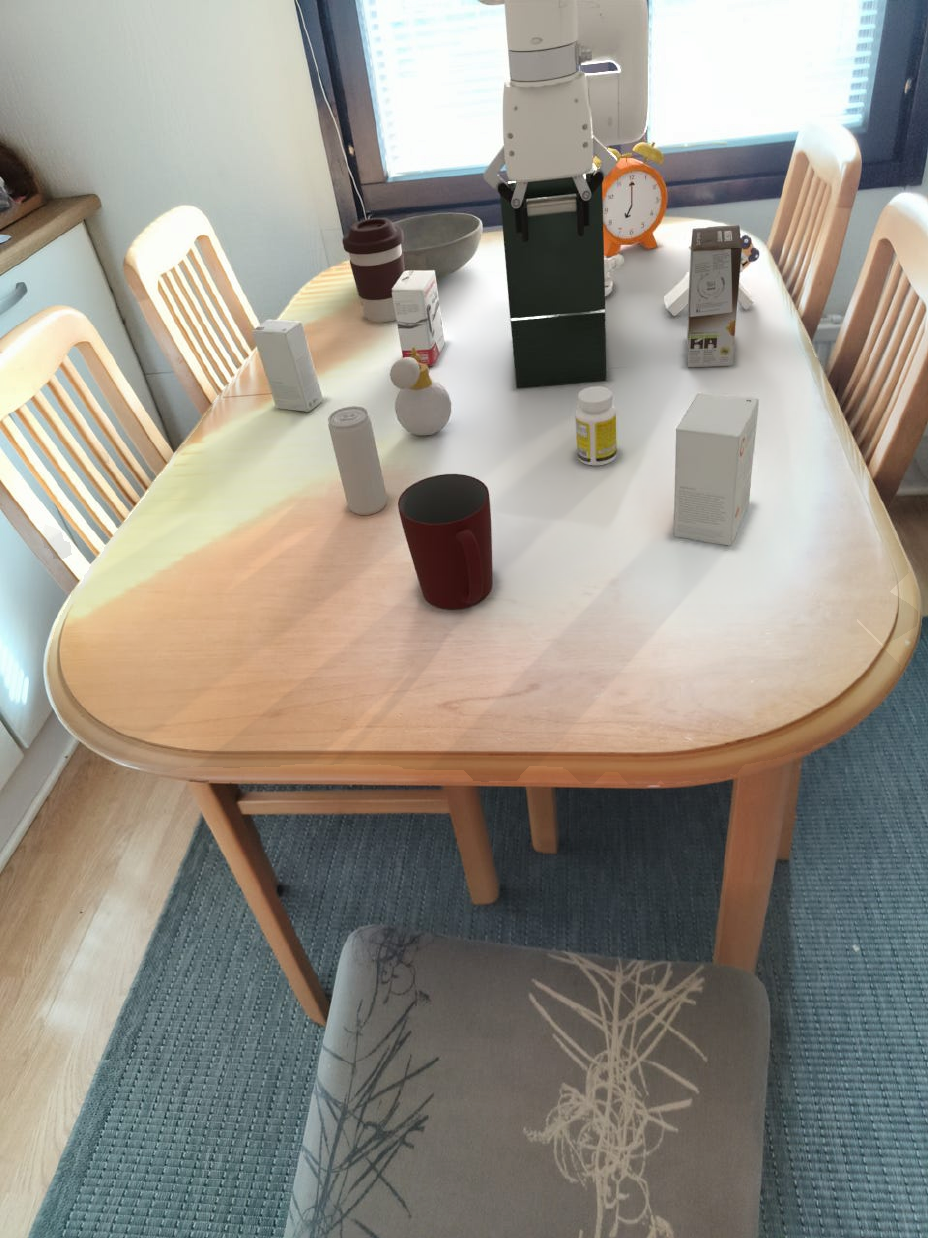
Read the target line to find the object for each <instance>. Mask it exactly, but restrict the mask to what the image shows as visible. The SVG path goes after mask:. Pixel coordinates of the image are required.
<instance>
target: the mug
mask: <svg viewBox="0 0 928 1238" xmlns="http://www.w3.org/2000/svg"><path fill="white" fill-rule="evenodd" d="M397 507H398V513H399V518H400V521H401V526H402V529H403V533H404V536H405V540H406V543H407V547H408V550H409V553H410V558H411V561H412V564H413V567H414V570H415V573H416V576H417V579H418V583H419V586H420V590H421V593H422V595H423V598H424V599H425V601H426V602H427V603H428V604H430V605H432V606H433V607H435V608H439V609H444V610H461V609H467V608H470V607H472V606H475V605H477V604H479V603H480V602H482V601H483V600H484V599H486V598H487V597H488V596H489V594H490V593H491V592H492V589H493V582H494V581H493V537H492V534H493V533H492V532H493V531H492V530H493V529H492V509H491V499H490V492H489V488H488V486H487V485H486V484H485V482H483V481H482V480H481V479H478V478H476V477H474V476H472V475H469V474H467V475H466V474H462V473H443V474H437V475H432V476H428V477H425V478H423V479H420V480H418V481H416V482H414V483H413V484H411V485H410V486H408V487H407V488H405V490H404V491H403V492H402V493H401V495H400V496H399V498H398V502H397Z"/></svg>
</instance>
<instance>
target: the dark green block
mask: <svg viewBox="0 0 928 1238" xmlns="http://www.w3.org/2000/svg"><path fill="white" fill-rule="evenodd" d="M591 174H592V173H586V174H585V176H586V178H587V179H588V178H589V177H590V176H591ZM507 182H508V183H509V184H510V185H511V186H512V187H513V188H514V186H515V183H516V182H514V181H507ZM576 196H578V189H577V187H576V184H575V182H574V180H573V178H572V177H567V178H558V179H550V180H541V181H531V182H528V184H527V187H526V190H525V194H524V200H525V202H526V205H527V217H528V231H529V241H527V242H523V239H522V233H518V234H517V233H516V221H515V208H514V207H513V206H512V204H511V203H510V202H508V201H507V200H506V199H505V198H504V197H503V196H502V195H500V194H499V198H500V212H501V224H502V225H501V226H502V237H503V248H504V259H505V262H504V263H505V271H506V284H507V285H506V286H507V298H508V309H509V319H511V318H522V317H532V316H543V315H554V314H564V313H575V312H585V311H596V310H605V311H606V297H605V273H604V232H603V190H602V183H601V184H600V186H599V187H598V188H597V189H596V190H595V192H594V193H593V194H592V195H591V198H590V199H589V226H584V236H580V235H578V229H577V201H576Z"/></svg>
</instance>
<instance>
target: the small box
mask: <svg viewBox="0 0 928 1238" xmlns="http://www.w3.org/2000/svg"><path fill="white" fill-rule="evenodd" d="M759 405H760V399H759V398H756V397H750V396H742V395H731V394H723V393H712V392H711V393H710V392H700V391H699V392H698V393H697V394H696V396H694V399H693V400H692V402H691V403H690V405H689V406H688V409H686V412H685V414H684V415H683V417H682V418H681V420H680V422H679V423H678V425H677V427H676V428H675V459H674V460H675V461H674V462H675V464H674V465H675V466H674V494H673V495H674V496H673V497H674V498H673V500H674V501H673V529H672V530H673V531H672V535H673V536H674V537H675V538H676V537H677V538H683V539H688V540H695V541H700V542H705V543H706V542H707V543H709V544H710V543H711V544H716V545H724V546H732V545H733V542H734V539H735V537H736V535H737V533H738V531H739V529H740V527H741V525H742V522H743V521H744V518H745V515H746V513H747V511H748V509H749V506H750V497H751V488H752V487H751V486H752V476H753V475H752V474H753V473H752V472H753V464H754V456H755V455H754V453H755V447H756V445H755V444H756V436H757V425H758V415H759Z"/></svg>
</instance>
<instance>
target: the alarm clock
mask: <svg viewBox="0 0 928 1238" xmlns="http://www.w3.org/2000/svg"><path fill="white" fill-rule="evenodd" d="M645 137H646V136H645V133H644V135H643V141H641V142H638V143H637V144H635V146H634V147H633V148H632V149H631V150H632V151H633V152H635V153H637V154H638V155H641V156H643V157H644V160H643V162H642V161H641V160H639V159H636V158H633V153H632V152H628V153H622V154H621V153H620V152H619V151H618V150H617V149H615V148H610V146H607V147H606V148H607V149H608V150H609V151H610V152H611V153H612V154H613V155H614V156H615V157H616V160H617V164H616V166H615V167H614V168H613V169H612V171H611V172H610V173H609V174H608V175H607V176H606V177H605V179H604V180H603V182H602V190H603V232H604V255H605V256H606V257H607V258H610V257H613V256H615V255H617V254H619V251H620V249H621V247H622V246H631V245H635V244H638V243H639V244H640V245H642V246H643V247H644V248H646V250H650V249H654V248H658V247H659V245H658V243H657V241H656V238H655V236H654V232H655V231H656V230H657V229H658V227H659V226H660V225H661V224H662V222H663V219H664V216H665V214H666V213H667V206H668V201H669V200H668V198H669V197H668V189H667V185H666V183H665V181H664V178H663V177H662V175H661V174H660V173H659V172H658V171H657V170H656V169H655V168H653V167H651V165H648V164H647V162H648V160H651V161H653V162H655V163H657V164H660V165H663V163H664V153H663V152H662V150H660V149H659V148H657V147H655V145H656V142H655V141H652V142H651V143H650V142H648V141H646V138H645ZM593 163H594V165H595V166H596V168H598V167H599V165H600V164H601V160H600V159H599V158H598V157H597V156H594V157H593Z"/></svg>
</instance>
